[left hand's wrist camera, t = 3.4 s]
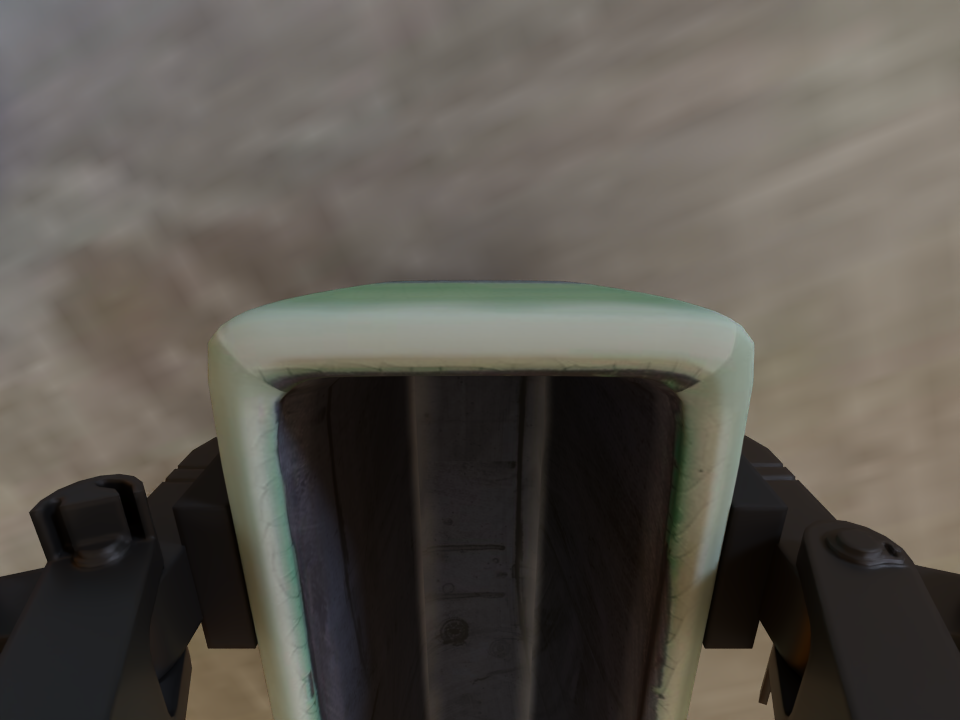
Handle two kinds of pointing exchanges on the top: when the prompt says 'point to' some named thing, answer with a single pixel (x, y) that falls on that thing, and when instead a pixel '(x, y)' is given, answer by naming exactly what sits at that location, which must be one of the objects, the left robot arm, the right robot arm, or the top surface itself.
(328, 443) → the planter
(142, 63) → the top surface
